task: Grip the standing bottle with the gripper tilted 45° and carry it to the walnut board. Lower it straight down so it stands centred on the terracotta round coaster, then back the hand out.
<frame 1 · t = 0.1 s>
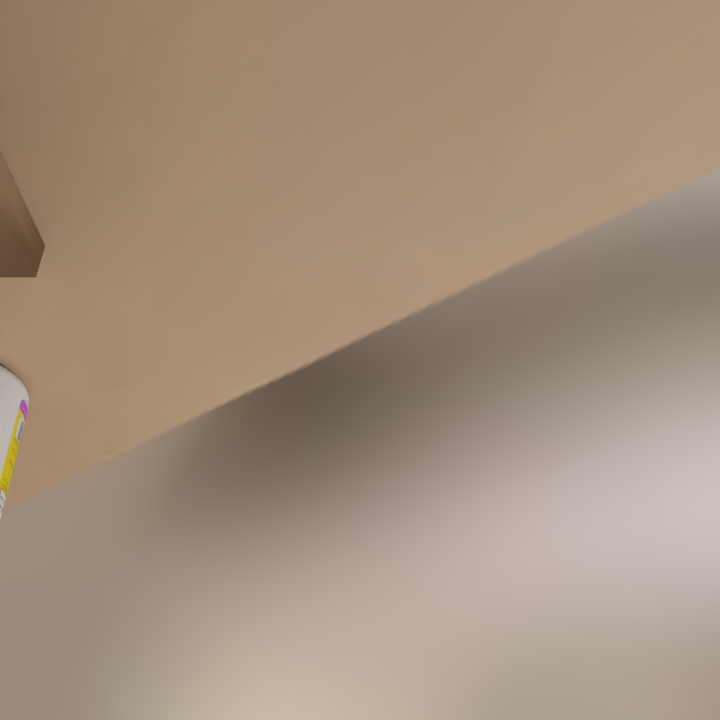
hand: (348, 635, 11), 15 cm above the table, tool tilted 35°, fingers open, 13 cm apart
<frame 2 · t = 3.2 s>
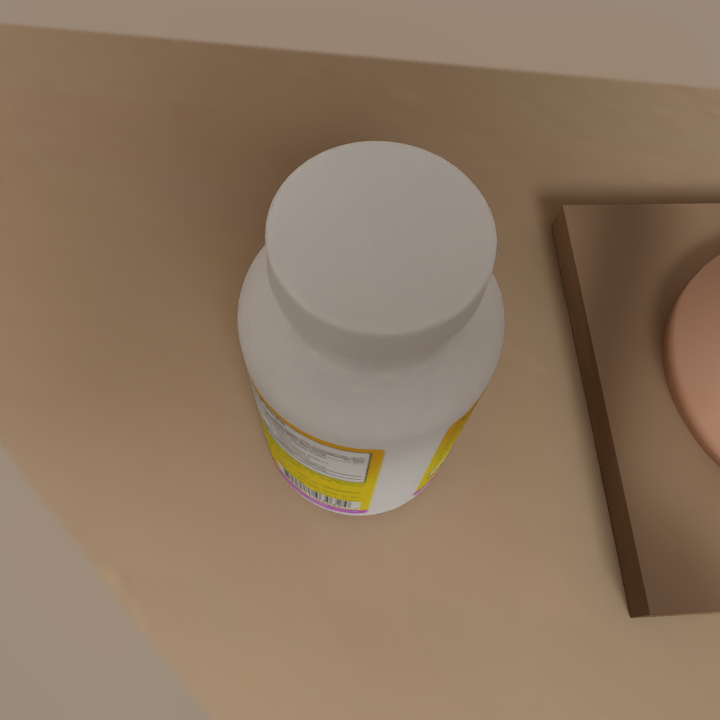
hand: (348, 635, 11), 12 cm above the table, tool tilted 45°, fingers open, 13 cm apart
supplement bottle: (356, 431, 25), on the table
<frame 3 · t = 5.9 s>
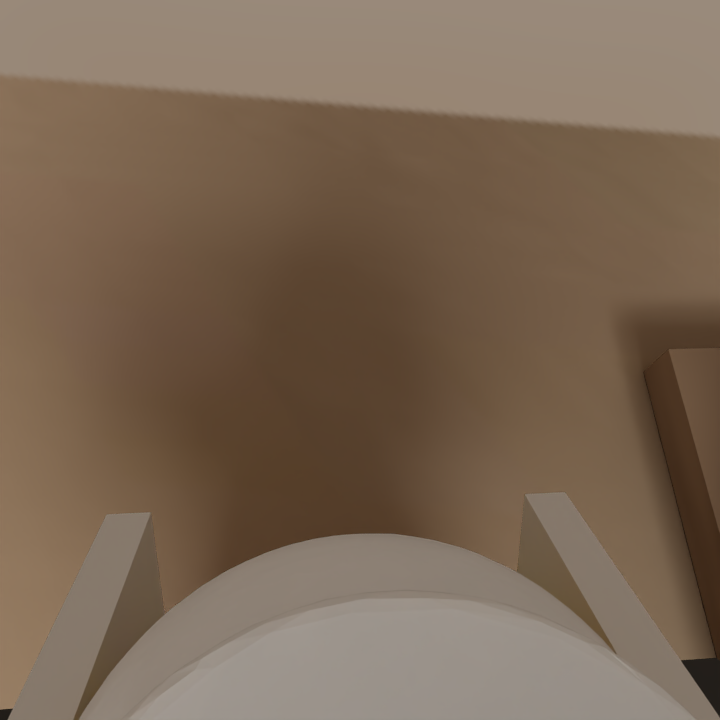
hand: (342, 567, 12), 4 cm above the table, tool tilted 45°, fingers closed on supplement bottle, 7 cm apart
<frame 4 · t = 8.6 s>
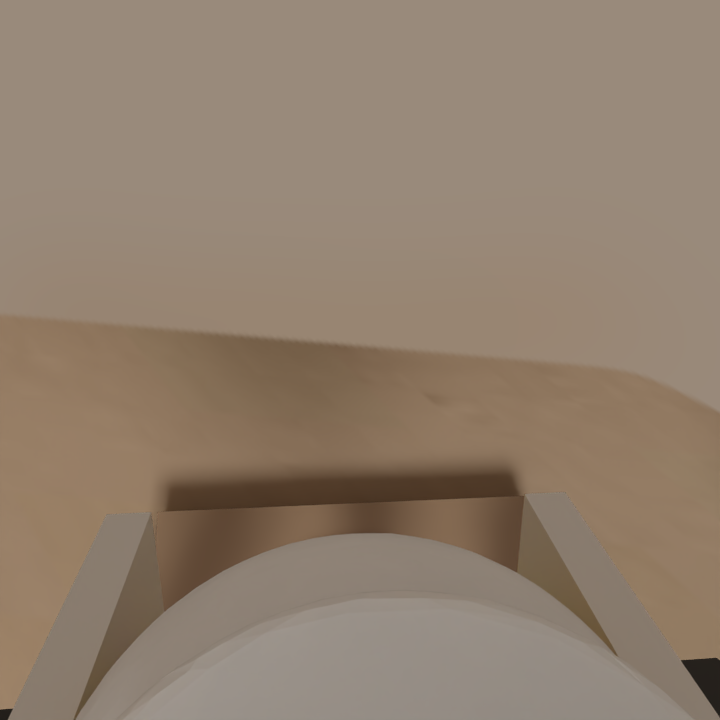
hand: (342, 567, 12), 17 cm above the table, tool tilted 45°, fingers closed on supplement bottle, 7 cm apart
mount board: (358, 712, 27), on the table
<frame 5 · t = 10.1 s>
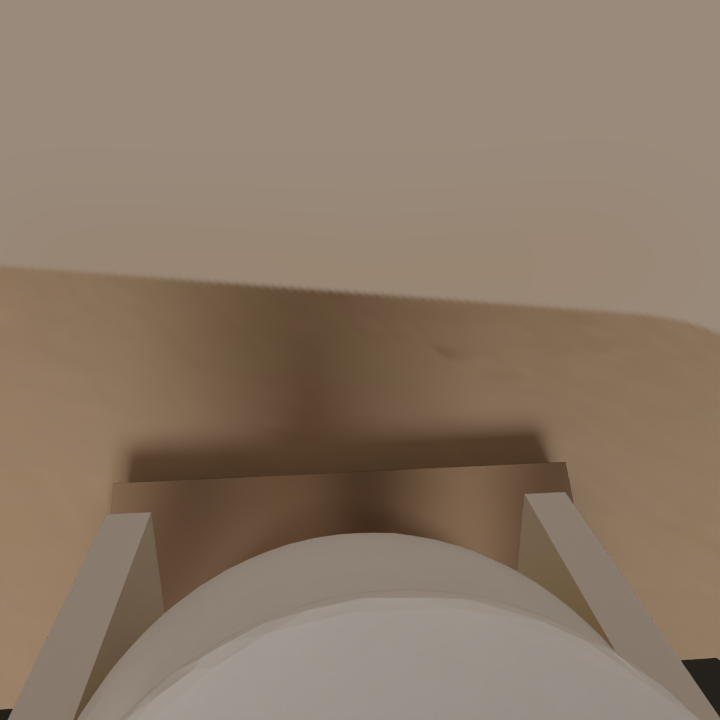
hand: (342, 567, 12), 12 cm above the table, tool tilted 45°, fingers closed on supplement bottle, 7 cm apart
when the fingers open (8 cm above the table, at t = 11.3 s): supplement bottle drops 1 cm, resting on coaster.
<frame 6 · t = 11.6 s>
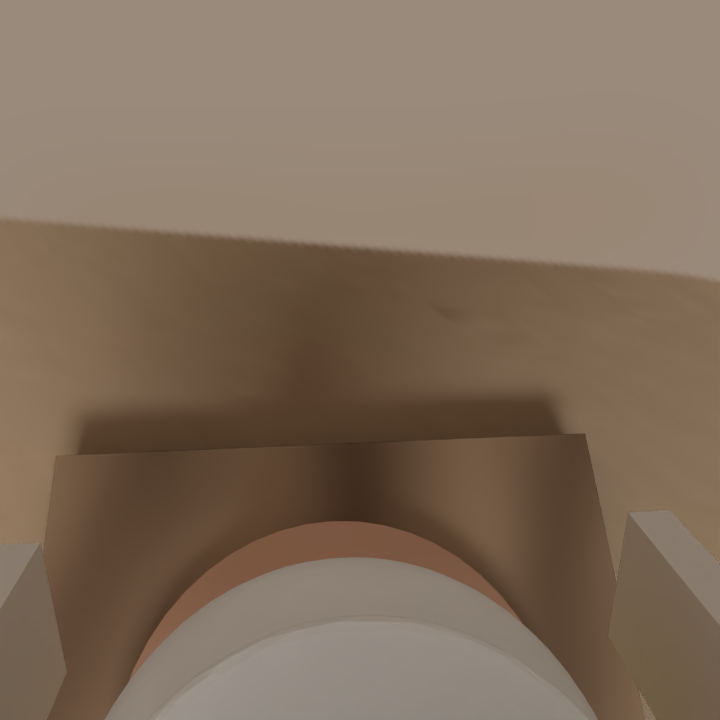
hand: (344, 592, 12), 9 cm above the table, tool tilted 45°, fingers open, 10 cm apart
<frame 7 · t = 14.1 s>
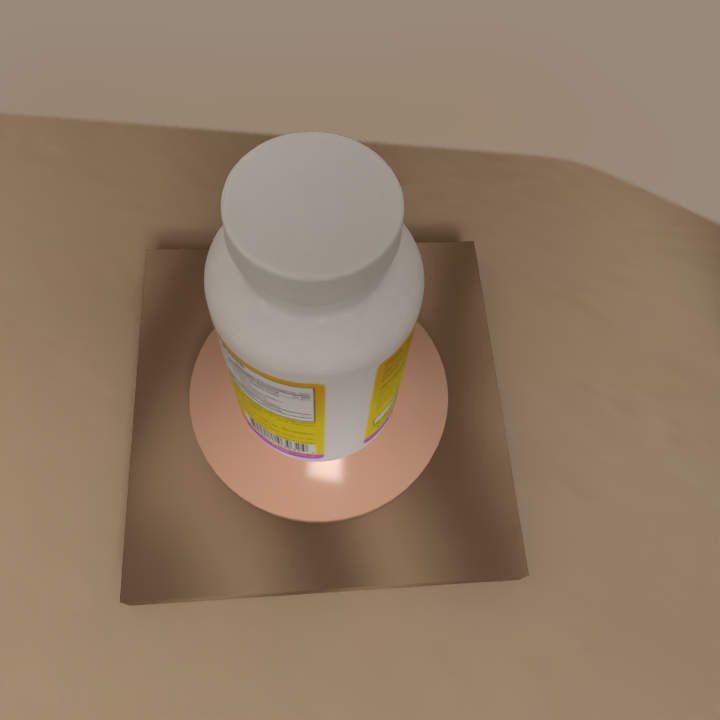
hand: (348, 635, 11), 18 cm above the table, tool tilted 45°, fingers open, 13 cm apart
mount board: (320, 409, 31), on the table
coaster: (320, 393, 29), on the mount board, point 2 cm above the table
supplement bottle: (317, 392, 29), point 2 cm above the table, touching coaster
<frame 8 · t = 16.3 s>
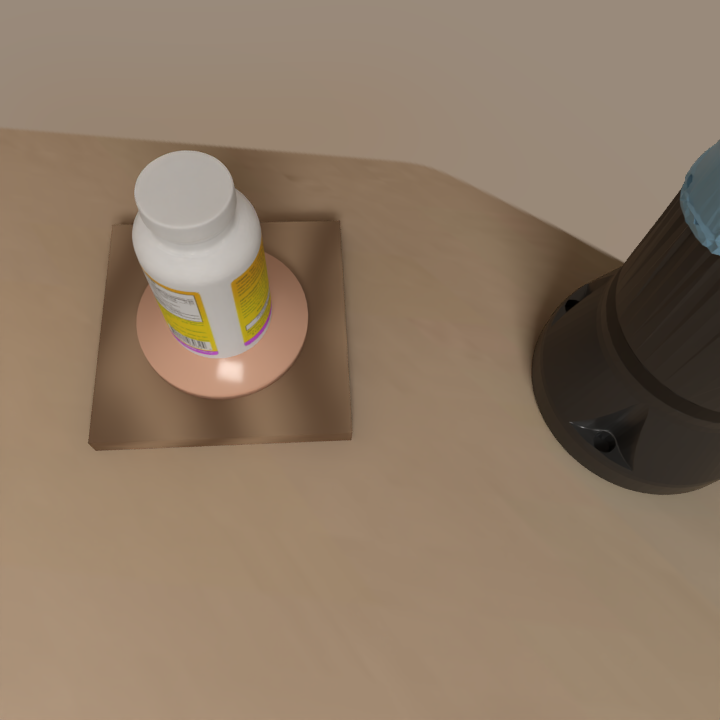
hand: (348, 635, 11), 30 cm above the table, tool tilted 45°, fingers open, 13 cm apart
mount board: (227, 332, 46), on the table
coaster: (224, 318, 44), on the mount board, point 1 cm above the table
supplement bottle: (221, 317, 44), point 2 cm above the table, touching coaster
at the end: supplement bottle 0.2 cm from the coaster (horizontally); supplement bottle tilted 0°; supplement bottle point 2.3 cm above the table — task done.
